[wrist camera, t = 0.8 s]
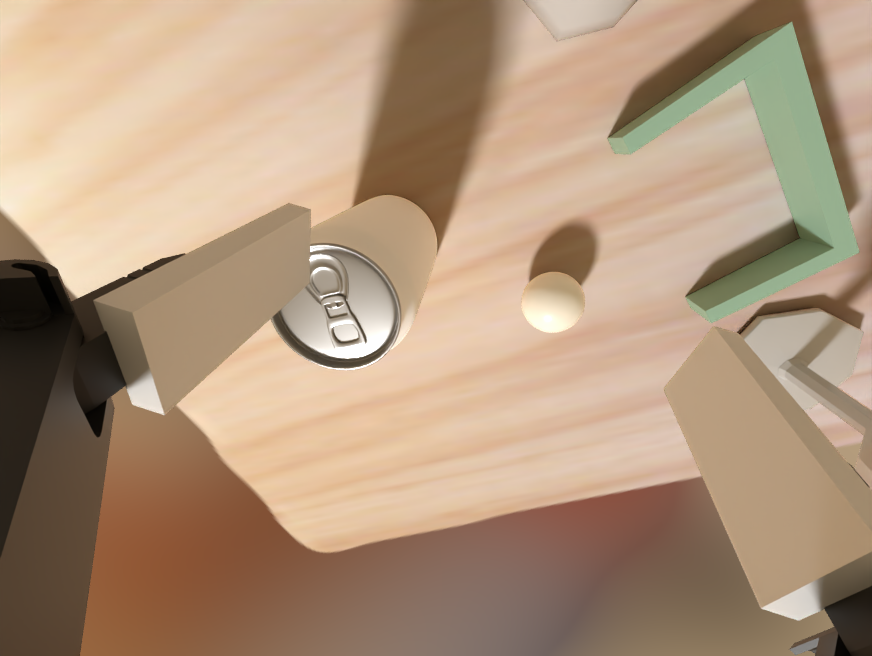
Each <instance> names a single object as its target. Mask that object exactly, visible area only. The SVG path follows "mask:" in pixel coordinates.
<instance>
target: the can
mask: <svg viewBox="0 0 872 656" xmlns="http://www.w3.org/2000/svg"><path fill="white" fill-rule="evenodd" d="M436 255H437V237H436V232H435V229H434V227H433V224H432V222H431V221H430V219H429V217H428V216H427V215H426V213H425V212H424V211H423V210H422V209H421V208H420V207H418V206H417V205H416V204H414V203H413V202H411V201H409V200H407V199H405V198H402V197H398V196H394V195H381V196H377V197H374V198H371V199H369V200H367V201H364V202H362V203H360V204H358V205H356V206H354V207H352V208H350V209H348V210H346V211H344V212H342V213H340V214H338V215H336V216H334V217H332V218H330V219H328V220H326V221H324V222H322V223H320V224H318V225H316V226H314V227H312V228H311V235H310V283H309V284H308V285H307V286H306V287H305V288H304V289H303V290H301V291H300V292H299V293H298V294H297V295H296V296H295V297H294V298H293V299H292V300H290V301H289V302H288V303H287V304H286V305H285V306H284V307H283V308H282V309H281V310H279V311H278V312H277V313H276V314H275V315H274V316H273V317H272V318H271V321H272V323H273V325H274V327H275V329H276V331H277V332H278V334H279V335H280V337H281V338H282V339H283V341H284V342H285V343H286V344H287V345H288V346H289V347H290V348H291V349H292V350H293V351H295V352H296V353H297V354H298V355H300V356H301V357H303V358H304V359H306V360H308V361H310V362H312V363H314V364H317V365H319V366H322V367H326V368H330V369H336V370H353V369H359V368H363V367H366V366H369V365H371V364H373V363H375V362H377V361H378V360H380V359H381V358H382V357H384V356H385V355H386V354H387V353H388V352H389V351H390V350H391V349H393V348H394V347H395V346H397V345H398V344H399V343H400V342H401V341H402V340H403V338H404V337H405V336H406V334H407V333H408V331H409V330H410V328H411V326H412V324H413V322H414V319H415V317H416V314H417V311H418V309H419V306H420V303H421V300H422V298H423V295H424V292H425V289H426V286H427V283H428V280H429V278H430V275H431V272H432V269H433V266H434V262H435V259H436Z"/></svg>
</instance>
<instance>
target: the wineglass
mask: <svg viewBox="0 0 872 656" xmlns="http://www.w3.org/2000/svg"><path fill="white" fill-rule="evenodd" d="M863 333H864V332H863V331H862V330H861V329H859V328H857V327H855V326H853V325H851V324H849V323H847V322H845V321H843V320H841V319H839V318H837V317H835V316H833V315H831V314H829V313H827V312H826V311H824V310H822V309H820V308H809V309H802V310H796V311H789V312H783V313H776V314H769V315H763V316H757V317H756V318H755V319H754V321H753V322H752V323H751V324H750V325H749V326H748V327H747V328H746V329H745V330H744V331H743V332H742V333H741V334H740V336H741V337H742V338H743V339H744V340H745V342H746V343H747V344H748V345H749V346H750V348H751V349H752V350H753V351H754V352H755V353H756V355H757V356H758V357H759V358H760V359H761V361H762V362H763V363H764V364H765V365H766V366H767V368H768V369H769V370H770V371H771V372H772V374H773V375H774V376H775V377H776V378H777V379H778V381H779V382H780V383H781V384H782V385H783V387H784V388H785V389H786V390H787V391H788V392H789V394H790V395H791V396H792V397H793V398H794V400H795V401H796V402H797V403H798V404H799V406H800V407H801V408H802V409H803V410H807V409H812V408H813V407H814V406H815V405H817V404H818V403H820V404H822V405H823V406H825V407H826V408H827V409H829V410H830V411H831V412H833V413H834V414H835V415H837V416H838V417H839V418H841V419H842V420H843V421H845V422H846V423H848V424H849V425H850V426H852V427H853V428H854V429H856V430H857V431H858V432H860V433H861V434H862V435H864V437H863V440H862V444H861V447H860V452H859V454H858V458H857V461H856V465H855V470H856V471H857V473H858V474H859V475H860V476H861V477H862V479H863V480H864V481H865V482H866V483H867V484H868V486H869V487H870V489H871V491H872V410H871V409H870V408H868V407H867V406H865V405H864V404H862V403H861V402H859V401H858V400H856V399H855V398H853V397H852V396H850V395H849V394H847V393H846V392H844V391H843V390H841V389H840V388H838V386H839V385H841V384H842V383H843V382H844V381H845V380H847V379H848V378H849V377H850V376H851V375H852V373H853V370H854V366H855V362H856V359H857V355H858V351H859V347H860V344H861V340H862V336H863Z"/></svg>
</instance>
